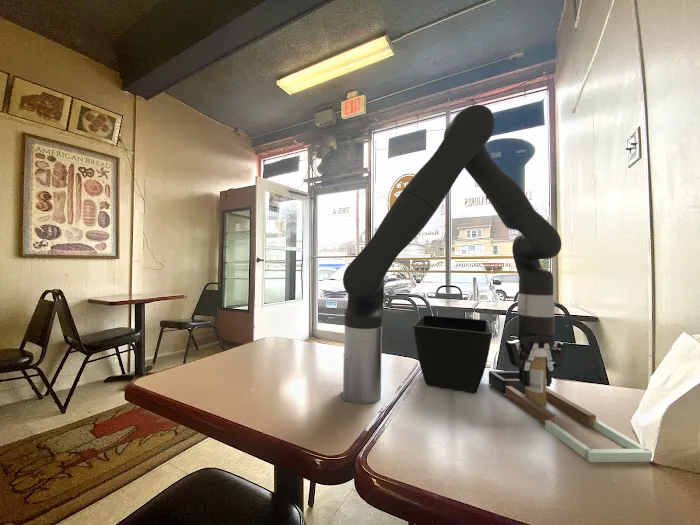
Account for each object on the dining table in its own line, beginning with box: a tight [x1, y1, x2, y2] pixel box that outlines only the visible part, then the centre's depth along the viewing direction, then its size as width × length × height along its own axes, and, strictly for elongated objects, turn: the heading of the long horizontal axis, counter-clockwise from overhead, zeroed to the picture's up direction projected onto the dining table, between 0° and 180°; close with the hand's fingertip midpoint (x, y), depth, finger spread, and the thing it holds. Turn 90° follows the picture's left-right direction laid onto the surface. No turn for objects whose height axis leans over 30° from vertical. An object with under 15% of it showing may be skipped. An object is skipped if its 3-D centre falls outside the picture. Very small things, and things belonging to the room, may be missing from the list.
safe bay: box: [544, 419, 654, 463], centre depth 54 cm, size 11×10×2 cm
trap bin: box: [488, 370, 525, 395], centre depth 79 cm, size 10×7×4 cm
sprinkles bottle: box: [524, 348, 548, 408], centre depth 70 cm, size 5×5×14 cm
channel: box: [504, 386, 597, 429], centre depth 67 cm, size 10×15×2 cm, turn 2°
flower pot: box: [413, 314, 493, 394], centre depth 83 cm, size 19×19×17 cm
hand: (535, 384), depth 70 cm, fingers closed on sprinkles bottle, 4 cm apart
